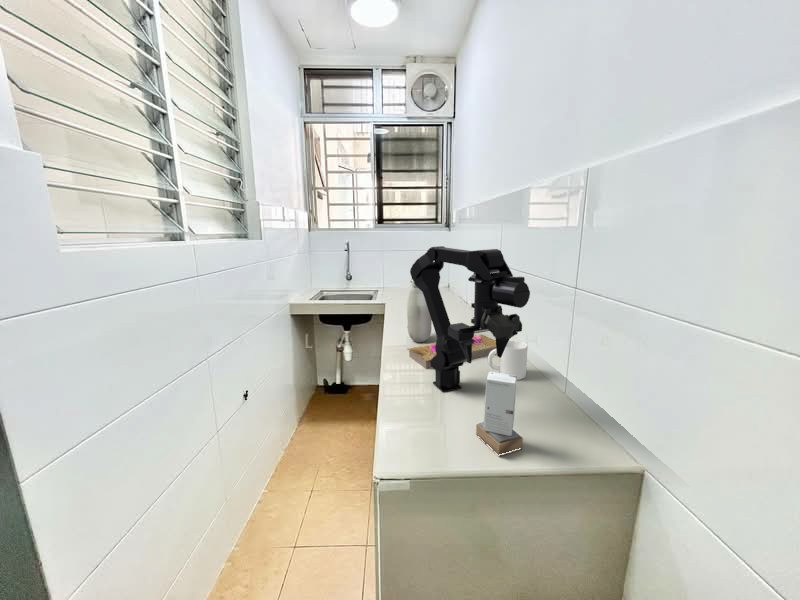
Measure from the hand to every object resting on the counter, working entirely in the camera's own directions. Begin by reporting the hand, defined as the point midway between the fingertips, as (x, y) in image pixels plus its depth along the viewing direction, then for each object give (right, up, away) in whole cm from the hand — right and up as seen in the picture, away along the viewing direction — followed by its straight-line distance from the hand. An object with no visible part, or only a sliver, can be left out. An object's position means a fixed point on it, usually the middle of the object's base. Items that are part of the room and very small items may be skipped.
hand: (484, 359), depth 85 cm
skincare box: (0, -13, -13) cm, 18 cm away
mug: (+12, -9, +21) cm, 26 cm away
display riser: (0, -16, -12) cm, 20 cm away
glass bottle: (-13, -2, +55) cm, 57 cm away
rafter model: (0, -6, +39) cm, 40 cm away
